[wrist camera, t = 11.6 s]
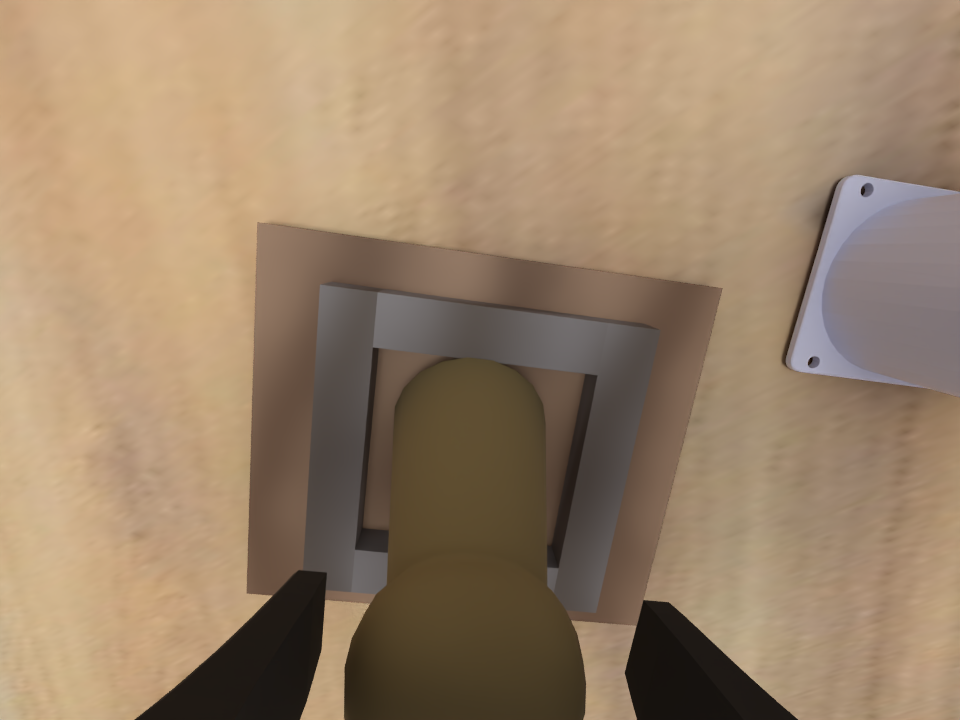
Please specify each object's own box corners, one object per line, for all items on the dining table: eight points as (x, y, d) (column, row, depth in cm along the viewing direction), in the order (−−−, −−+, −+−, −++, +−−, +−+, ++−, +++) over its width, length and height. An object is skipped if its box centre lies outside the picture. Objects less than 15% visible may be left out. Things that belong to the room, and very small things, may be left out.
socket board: (709, 286, 19) (745, 291, 17) (629, 609, 23) (649, 652, 20) (268, 223, 18) (238, 219, 15) (256, 577, 21) (230, 619, 19)
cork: (487, 502, 20) (498, 857, 11) (365, 440, 19) (247, 794, 9) (576, 408, 18) (696, 751, 8) (447, 327, 16) (408, 639, 7)
